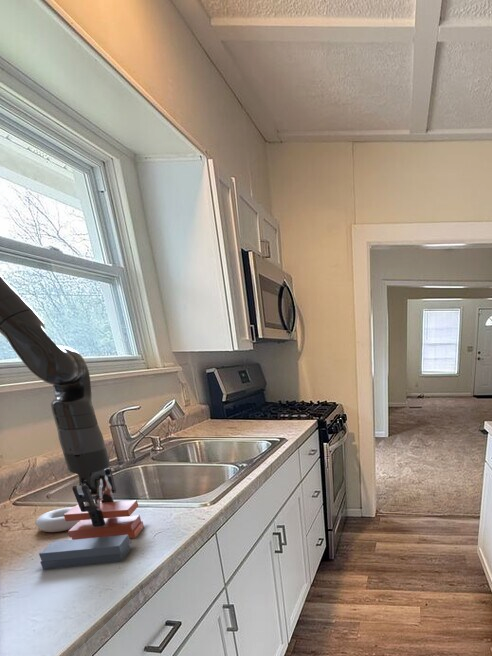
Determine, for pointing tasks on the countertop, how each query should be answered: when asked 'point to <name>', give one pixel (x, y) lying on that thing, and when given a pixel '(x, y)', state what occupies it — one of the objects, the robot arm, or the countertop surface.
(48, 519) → the donut
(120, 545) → the grey rectangular block
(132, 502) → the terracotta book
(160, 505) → the countertop surface
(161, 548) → the countertop surface
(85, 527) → the orange-red flat block
